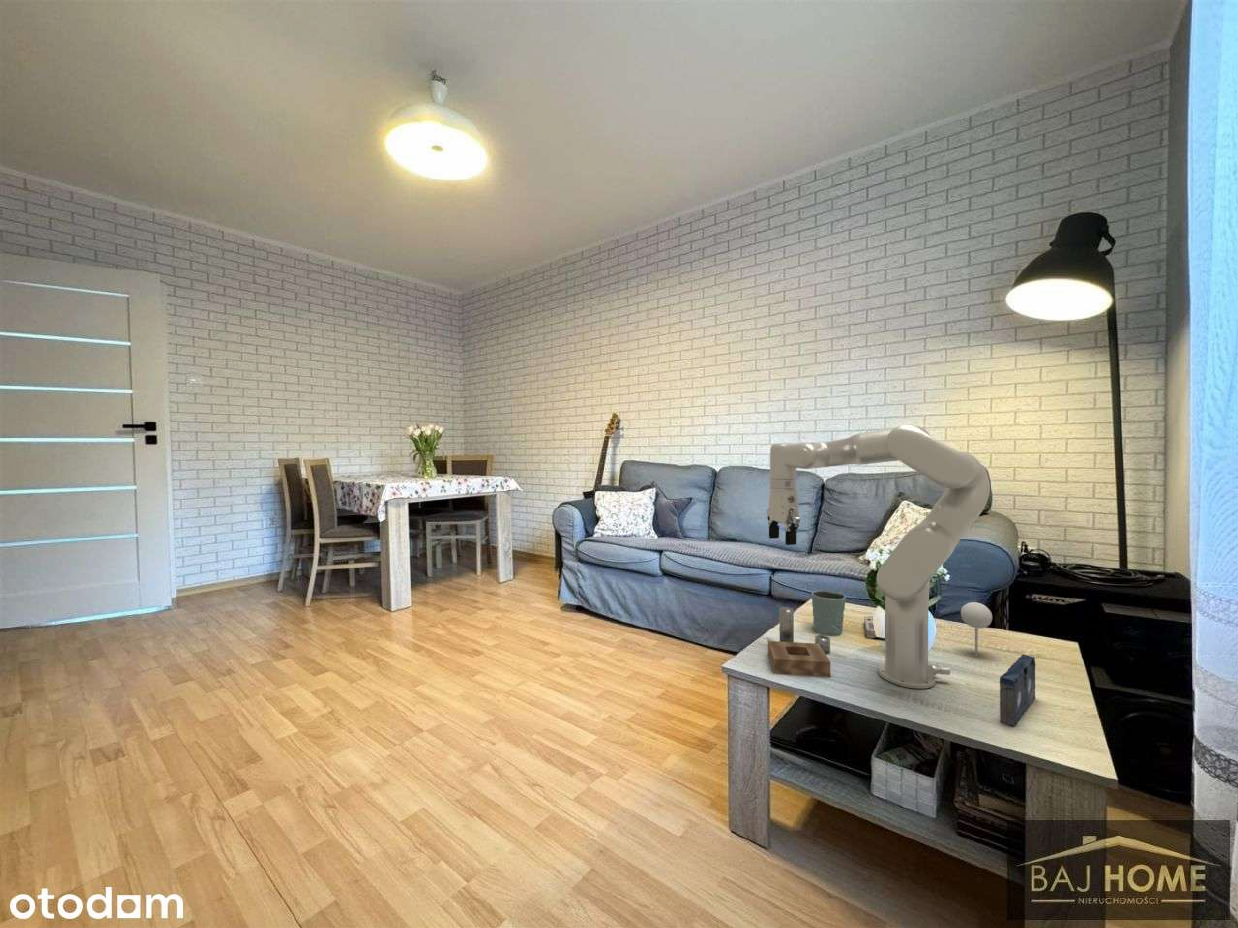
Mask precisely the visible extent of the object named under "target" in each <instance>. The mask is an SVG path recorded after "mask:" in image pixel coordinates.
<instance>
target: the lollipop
mask: <svg viewBox="0 0 1238 928" xmlns="http://www.w3.org/2000/svg"><path fill="white" fill-rule="evenodd" d="M960 616H961V619H962V621H963V622H964V623H965V624H966V625H967V626H969V627H970V628H974V656H976V657H977V656H979V653H978V652H979V648H978V647H979V645H978V644H979V639H978V638H979V631H978V630H979V629H985V628H988V627H989V626H990V625H991V623H992V621H993V614H992V611H991V610H990V609H989V608H988V606H986V605H985V604H983V603H980V602H976V601H972V602H967V603H966V604H964V605H963V606H962V607H961V610H960Z"/></svg>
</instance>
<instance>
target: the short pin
mask: <svg viewBox="0 0 1238 928" xmlns="http://www.w3.org/2000/svg"><path fill="white" fill-rule="evenodd" d="M814 643H818V644H820V646H821V648H822V649H823V651H824V652H825V654H826V655H829V654H830V653H831V639H830V636H827V635H823V634H821V635H820V634H819V635H815V636H814Z"/></svg>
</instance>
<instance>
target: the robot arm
mask: <svg viewBox="0 0 1238 928" xmlns="http://www.w3.org/2000/svg"><path fill="white" fill-rule="evenodd" d="M769 453H770V454H769V491H770V492H769V499H768V509H767V508H766V514H767V521H768V522H767V524H768V538H769V539H770V540H771V539H779V538H780V525H779V524H782V525H784V527H785V529H786V530H785V532H784V533H785V534H784V535H785V538H784V539H785V541H784V542H785V545H786V546H792V545H793V546H796V545H797V532H798V531H799V529H798V528H799V527H800V523H801V522H800V521H801V517H800V509H799V508H800V506H799V497H798V492H797V469H802V470H811V469H812V470H813V469H821V468H822V469H823V468H829V467H837V466H847V465H858V466H861V465H872V464H877V463H879V464H880V463H887V462H897V461H900V462H901V463H903V464H904V465H906V466H907V467H908V468H910V469H912V470H914V471H915V472H918V474H920V475H922V476H923V477H925V478H927V479H928V480H930V481H931V482H933V483H934V484H937V485H938V486H940V487H943V488H945V491H944V492H943V494H942V495H941V497H940V498H939V500H938V501H937V502H936V503H935V504H934V506H933V508H932V509H931V510H930V511H929V513H927V515H926V516H925V517H924V519H923V520H922V521H921V522H920V523H919V524H917V525H916V526H914V527H912V528H911V529H910V530H908V532H907V533H906V534H905V535H904V536H903V537H902V539H901V540H900V541H899V543H898V544H897V545H896V546H895V548H894V549H893V550H892V551H891V553H890V554H889V556H888V557H887V558H886V559H885V560H884V562H883V563H882V565H881V566H880V567H879V568H878V571H877V574H876V583H877V587H878V588H879V590H880V592H881V593H882V594H883V595H884V597H885V599H884V617H885V639H884V662H883V663H881V664H880V665H879V666H878V670H877V672H878V674H879V676H880V677H882V679H884V680H885V681H888V682H889V683H892V684H894V685H898V686H900V687H905V688H909V689H918V690H919V689H922V690H923V689H930V688H932V687H934V686H936V677H935V676H937V675H946V676H950V675H951V669H950V667H949V666H943V665H942V666H940V664H939V663H938V662H929V603H930V602H929V600H930V586H931V579H932V578H933V577H934V576H935V574H937V572H938V571H939V570H940V569H941V567H943V565H944V563H946V562H947V560H948V559H949V558H950V557H951V555H952V554H953V552H954V550H955V548H956V546H958V543H959V542H960V540H961V539H962V538H963V537H964V536H965V535H966V533H967V532H968V531H969V529H970V528H971V526H973V524H974V522H975V521H976V520H977V519H978V517H979V516H980V515H981V513H982V512H983V511H984V509H985V507H986V505H987V503H988V500H989V497H990V490H991V488H990V487H991V484H990V478H989V476H988V473H987V471H986V469H985V468H984V465H982V464H981V462H980V461H979V460H978V458H976V457H975V456H973V455H972V454H970V453H968V452H965V451H959V450H956V449H954V448H953V447H951V446H950V445H947V444H945V443H944V442H942V441H940V440H939V439H937V438H935V437H933V436H932V435H931V434H930V432H929V431H927V429H925V428H924V427H922V426H920V425H916V424H915V425H914V424H902V425H901V424H900V425H898V426H896V427H893V428H887V429H881V430H873V431H866V432H865V431H864V432H860V433H855V434H853V435H852V436H850V437H847V438H843V439H836V440H830V441H822V442H801V443H794V444H793V443H774V444H772V445H771V446H770V451H769Z"/></svg>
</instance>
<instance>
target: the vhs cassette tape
mask: <svg viewBox="0 0 1238 928" xmlns="http://www.w3.org/2000/svg"><path fill="white" fill-rule="evenodd" d="M1035 660H1036V658H1035V657H1034V656H1031V655H1030V656H1029V655H1026V654H1022V655H1021V656H1020V657H1018V658H1017V660H1015V662H1013V663H1012V664H1011V665H1010V667H1009V668H1008V669H1007V671H1006V672H1004V673H1002V675H1001V676H1000V677H999V687H1000V689H999V705H1000V707H999V708H1000V709H999V710H1000V712H999V713H1000V714H999V715H1000V717H999V718H1000V720H999V721H1000V723H1002V724H1004V725H1006V726H1010V727H1013V728H1016V726H1017V725H1018V724H1019V722H1020V720H1021V719H1022V718H1023V717H1024V715H1025V714H1026V713H1027V711H1028V710H1029V708H1030V707H1031V706H1032V704H1033V703H1034V701H1035V700H1036V661H1035Z"/></svg>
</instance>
